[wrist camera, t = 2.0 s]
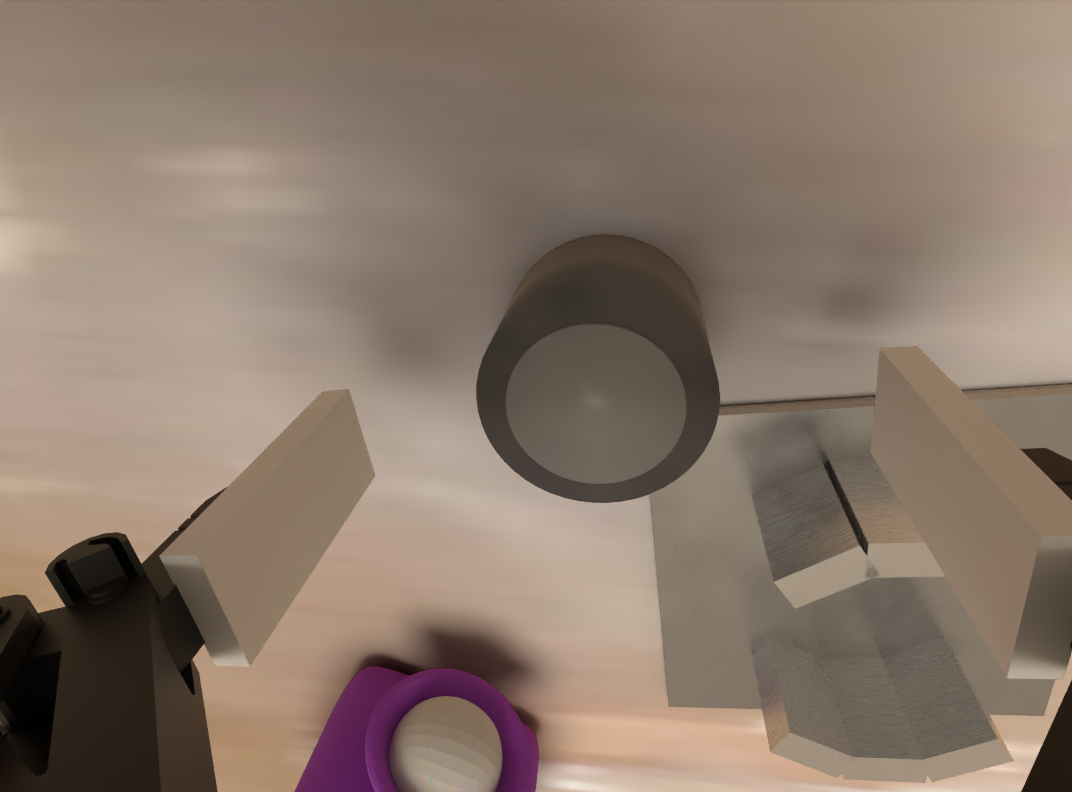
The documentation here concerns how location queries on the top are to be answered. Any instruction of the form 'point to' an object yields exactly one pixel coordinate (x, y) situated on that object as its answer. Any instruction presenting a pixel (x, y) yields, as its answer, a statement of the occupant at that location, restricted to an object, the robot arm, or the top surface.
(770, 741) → the grey square plate
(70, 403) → the top surface
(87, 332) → the top surface
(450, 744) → the toy camera
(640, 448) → the dark grey cylinder
